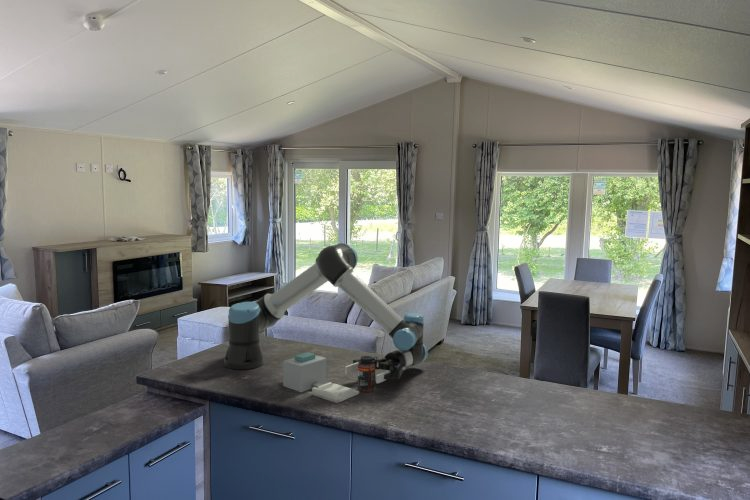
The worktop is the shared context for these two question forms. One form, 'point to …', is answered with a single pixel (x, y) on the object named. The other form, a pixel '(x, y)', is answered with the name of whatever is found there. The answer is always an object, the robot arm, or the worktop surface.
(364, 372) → the supplement bottle
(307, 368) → the white two-part device
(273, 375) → the worktop surface
